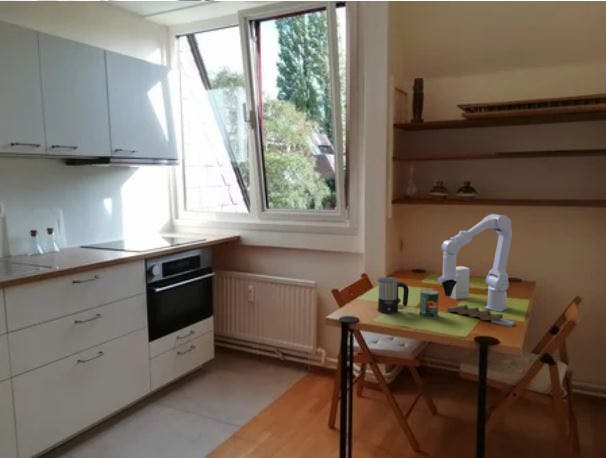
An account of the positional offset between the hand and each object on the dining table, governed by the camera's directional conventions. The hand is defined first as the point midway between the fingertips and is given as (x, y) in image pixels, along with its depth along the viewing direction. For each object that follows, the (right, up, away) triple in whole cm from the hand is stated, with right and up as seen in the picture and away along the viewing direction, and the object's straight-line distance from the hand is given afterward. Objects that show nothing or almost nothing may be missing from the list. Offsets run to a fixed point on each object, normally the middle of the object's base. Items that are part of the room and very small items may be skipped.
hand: (448, 296), depth 207 cm
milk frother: (-26, -7, +4) cm, 27 cm away
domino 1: (+1, -6, 0) cm, 6 cm away
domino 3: (+8, -7, -7) cm, 13 cm away
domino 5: (+15, -8, -14) cm, 22 cm away
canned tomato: (-11, -8, -7) cm, 15 cm away
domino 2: (+4, -7, -3) cm, 9 cm away
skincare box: (+13, -4, +23) cm, 27 cm away
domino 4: (+12, -8, -11) cm, 17 cm away
